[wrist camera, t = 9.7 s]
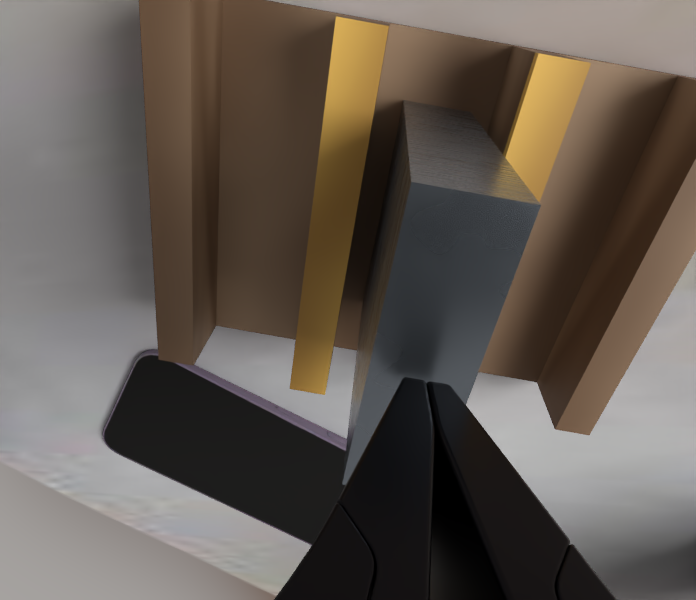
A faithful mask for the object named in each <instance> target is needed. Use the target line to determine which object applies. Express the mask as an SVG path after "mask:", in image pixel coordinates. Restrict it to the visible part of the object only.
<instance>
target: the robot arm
mask: <svg viewBox="0 0 696 600" xmlns="http://www.w3.org/2000/svg"><path fill="white" fill-rule="evenodd" d="M569 544H570V540H569V538H568V537H567V536H566V535H565V533H564V532H563V531H562V529H561V528H560V527H559V525H558V524H557V523H556V522H555V520H554V519H553V518H552V516H551V515H550V514H549V513H548V511H547V510H546V509H545V507H544V506H543V505H542V503H541V502H540V501H539V500H538V498H537V497H536V496H535V494H534V493H533V492H532V491H531V489H530V488H529V487H528V485H527V484H526V483H525V481H524V480H523V479H522V478H521V476H520V475H519V474H518V472H517V471H516V470H515V468H514V467H513V466H512V465H511V463H510V462H509V461H508V459H507V458H506V457H505V456H504V454H503V453H502V452H501V450H500V449H499V448H498V446H497V445H496V444H495V443H494V441H493V440H492V439H491V437H490V436H489V435H488V433H487V432H486V431H485V430H484V428H483V427H482V426H481V424H480V423H479V422H478V421H477V419H476V418H475V417H474V415H473V414H472V413H471V411H470V410H469V409H468V408H467V406H466V405H465V404H464V402H463V401H462V400H461V398H460V397H459V396H458V395H457V393H456V392H455V391H454V389H453V388H452V387H451V386H450V385H448V384H444V383H438V382H432V381H429V382H427V383H426V382H425V381H424V380H421V379H415V378H410V377H404V378H403V379H402V381H401V382H400V384H399V386H398V388H397V390H396V392H395V394H394V396H393V397H392V399H391V401H390V403H389V405H388V407H387V409H386V411H385V412H384V414H383V416H382V418H381V420H380V422H379V424H378V425H377V427H376V429H375V431H374V433H373V435H372V437H371V439H370V440H369V442H368V444H367V446H366V448H365V450H364V452H363V454H362V455H361V457H360V459H359V461H358V463H357V465H356V467H355V469H354V470H353V472H352V474H351V476H350V478H349V480H348V482H347V484H346V485H345V487H344V489H343V491H342V493H341V495H340V497H339V498H338V500H337V504H335V505H334V507H333V509H332V511H331V513H330V515H329V517H328V518H327V520H326V522H325V524H324V526H323V527H322V529H321V531H320V532H319V534H318V536H317V538H316V539H315V541H314V543H313V544H312V546H311V548H310V549H309V551H308V552H307V554H306V555H305V557H304V558H303V560H302V561H301V563H300V564H299V566H298V567H297V568H296V570H295V571H294V573H293V574H292V576H291V577H290V579H289V580H288V581H287V583H286V584H285V585H284V587H283V588H282V590H281V591H280V592H279V594H278V595H277V596H276V598H275V599H274V600H617V599H616V598H615V596H614V595H613V594H612V593H611V592H610V590H609V589H608V588H607V587H606V585H605V584H604V583H603V582H602V580H601V579H600V578H599V577H598V575H597V574H596V573H595V572H594V570H593V569H592V568H591V567H590V565H589V564H588V563H587V561H586V560H585V559H584V558H583V556H582V555H581V554H580V552H579V551H578V550H577V549H576V547H575V546H574V545H569Z"/></svg>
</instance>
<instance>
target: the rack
mask: <svg viewBox="0 0 696 600" xmlns="http://www.w3.org/2000/svg"><path fill="white" fill-rule="evenodd" d="M139 11H140V30H141V48H142V66H143V84H144V102H145V121H146V139H147V157H148V175H149V194H150V212H151V230H152V248H153V266H154V285H155V303H156V321H157V339H158V357H159V360H164V361H169V362H175V363H181V364H186V365H192V366H193V365H194V364H195V362H196V360H197V358H198V357H199V355H200V353H201V351H202V350H203V348H204V346H205V344H206V343H207V341H208V339H209V337H210V336H211V334H212V332H213V330H214V329H215V327H216V326H222V327H227V328H233V329H239V330H244V331H250V332H256V333H261V334H267V335H273V336H278V337H284V338H290V339H295V340H296V342H295V350H294V358H293V366H292V375H291V383H290V389H294V390H300V391H306V392H311V393H317V394H323V395H325V391H326V386H327V380H328V375H329V369H330V364H331V358H332V353H333V347H334V346H335V347H341V348H346V349H352V350H357V347H358V338H359V329H360V320H361V311H362V302H363V297H364V292H365V287H366V283H367V278H368V273H369V268H370V263H371V258H372V253H373V248H374V243H375V238H376V233H377V228H378V223H379V218H380V213H381V208H382V203H383V198H384V194H385V189H386V184H387V179H388V174H389V169H390V164H391V159H392V154H393V149H394V144H395V139H396V134H397V129H398V124H399V119H400V114H401V109H402V105H403V100H407V101H412V102H417V103H423V104H428V105H434V106H439V107H445V108H450V109H456V110H461V111H467V112H471V113H472V114H473V116H474V117H475V118H476V120H477V121H478V122H479V124H480V125H481V126H482V128H483V129H484V130H485V132H486V133H487V134H488V136H489V137H490V138H491V139H492V141H493V142H494V143H495V145H496V146H497V147H498V149H499V150H500V151H501V153H502V154H503V155H504V157H505V158H506V159H507V161H508V162H509V163H510V165H511V166H512V167H513V169H514V170H515V171H516V173H517V174H518V175H519V177H520V178H521V179H522V180H523V182H524V183H525V184H526V186H527V187H528V188H529V190H530V191H531V192H532V194H533V195H534V196H535V198H536V199H537V200H538V202H539V203H540V204H541V207H540V210H539V212H538V215H537V218H536V220H535V223H534V226H533V228H532V231H531V233H530V236H529V239H528V241H527V244H526V247H525V249H524V252H523V255H522V257H521V260H520V263H519V265H518V268H517V271H516V273H515V276H514V278H513V281H512V284H511V286H510V289H509V292H508V294H507V297H506V300H505V302H504V305H503V308H502V310H501V313H500V316H499V318H498V321H497V323H496V326H495V329H494V331H493V334H492V337H491V339H490V342H489V345H488V347H487V350H486V353H485V355H484V358H483V361H482V363H481V366H480V368H479V371H478V372H483V373H488V374H494V375H500V376H505V377H511V378H517V379H522V380H528V381H534V382H537V384H538V386H539V389H540V391H541V394H542V397H543V399H544V402H545V404H546V407H547V410H548V412H549V415H550V417H551V420H552V423H553V425H554V428H555V429H557V430H562V431H568V432H574V433H579V434H585V435H590V433H591V431H592V429H593V428H594V426H595V424H596V423H597V421H598V419H599V417H600V416H601V414H602V412H603V410H604V409H605V407H606V405H607V403H608V402H609V400H610V398H611V396H612V395H613V393H614V391H615V389H616V388H617V386H618V384H619V383H620V381H621V379H622V377H623V376H624V374H625V372H626V370H627V369H628V367H629V365H630V363H631V362H632V360H633V358H634V356H635V355H636V353H637V351H638V349H639V348H640V346H641V344H642V343H643V341H644V339H645V337H646V336H647V334H648V332H649V330H650V329H651V327H652V325H653V323H654V322H655V320H656V318H657V316H658V315H659V313H660V311H661V309H662V308H663V306H664V304H665V303H666V301H667V299H668V297H669V296H670V294H671V292H672V290H673V289H674V287H675V285H676V283H677V282H678V280H679V278H680V276H681V275H682V273H683V271H684V269H685V268H686V266H687V264H688V263H689V261H690V259H691V257H692V256H693V254H694V252H695V250H696V78H691V77H685V76H680V75H674V74H669V73H663V72H658V71H652V70H647V69H641V68H636V67H630V66H625V65H619V64H614V63H608V62H603V61H597V60H592V59H586V58H581V57H575V56H570V55H564V54H559V53H553V52H548V51H542V50H537V49H531V48H526V47H520V46H515V45H509V44H504V43H498V42H493V41H487V40H482V39H476V38H471V37H465V36H460V35H454V34H449V33H443V32H438V31H432V30H427V29H421V28H416V27H410V26H405V25H399V24H394V23H388V22H383V21H377V20H372V19H366V18H361V17H355V16H350V15H344V14H339V13H333V12H328V11H323V10H317V9H312V8H306V7H301V6H295V5H290V4H284V3H279V2H273V1H268V0H139Z"/></svg>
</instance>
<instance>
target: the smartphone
mask: <svg viewBox="0 0 696 600" xmlns="http://www.w3.org/2000/svg"><path fill="white" fill-rule="evenodd" d="M103 440H104V442H105V443H106V445H107V446H108V447H109V448H110V449H111V450H112V451H114V452H116V453H117V454H119V455H121V456H123V457H125V458H127V459H129V460H132V461H134V462H136V463H138V464H140V465H142V466H144V467H146V468H149V469H151V470H153V471H155V472H157V473H159V474H161V475H163V476H166V477H168V478H170V479H172V480H174V481H176V482H178V483H180V484H183V485H185V486H187V487H189V488H191V489H193V490H195V491H197V492H200V493H202V494H204V495H206V496H208V497H210V498H212V499H214V500H217V501H219V502H221V503H223V504H225V505H227V506H229V507H231V508H234V509H236V510H238V511H240V512H242V513H244V514H246V515H248V516H251V517H253V518H255V519H257V520H259V521H261V522H263V523H265V524H268V525H270V526H272V527H274V528H276V529H278V530H280V531H282V532H285V533H287V534H289V535H291V536H293V537H295V538H297V539H299V540H302V541H304V542H306V543H308V544H310V545H312V544H313V543H314V541H315V539H316V538H317V536H318V534H319V532H320V531H321V529H322V527H323V526H324V524H325V522H326V520H327V518H328V517H329V515H330V513H331V511H332V509H333V507H334V505H335V504H337V500H338V498H339V497H340V495H341V493H342V491H343V489H344V487H345V485H343V484H342V481H343V472H344V463H345V454H346V445H347V439H345V438H343V437H341V436H339V435H337V434H335V433H333V432H331V431H329V430H326V429H324V428H322V427H320V426H318V425H316V424H314V423H312V422H310V421H308V420H306V419H304V418H302V417H300V416H298V415H296V414H294V413H292V412H290V411H288V410H285V409H283V408H281V407H279V406H277V405H275V404H273V403H271V402H269V401H267V400H265V399H263V398H261V397H259V396H257V395H255V394H253V393H251V392H249V391H247V390H245V389H243V388H241V387H238V386H236V385H234V384H232V383H230V382H228V381H226V380H224V379H222V378H220V377H218V376H216V375H214V374H212V373H210V372H208V371H206V370H204V369H202V368H200V367H198V366H196V365H193V366H192V365H186V364H181V363H175V362H169V361H164V360H159V357H158V350H154V349H153V350H148V351H145V352H143V353H142V354H141V355H140V356H139V357H138V358H137V359H136V361H135V363H134V365H133V367H132V369H131V371H130V373H129V375H128V378H127V380H126V382H125V384H124V386H123V388H122V391H121V393H120V395H119V397H118V399H117V402H116V404H115V406H114V408H113V410H112V412H111V415H110V417H109V419H108V421H107V423H106V425H105V428H104V430H103Z"/></svg>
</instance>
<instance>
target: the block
mask: <svg viewBox="0 0 696 600" xmlns="http://www.w3.org/2000/svg"><path fill="white" fill-rule="evenodd" d="M540 207H541V204H540V203H539V202H538V200H537V199H536V198H535V196H534V195H533V194H532V192H531V191H530V190H529V188H528V187H527V186H526V184H525V183H524V182H523V180H522V179H521V178H520V177H519V175H518V174H517V173H516V171H515V170H514V169H513V167H512V166H511V165H510V163H509V162H508V161H507V159H506V158H505V157H504V155H503V154H502V153H501V151H500V150H499V149H498V147H497V146H496V145H495V143H494V142H493V141H492V139H491V138H490V137H489V136H488V134H487V133H486V132H485V130H484V129H483V128H482V126H481V125H480V124H479V122H478V121H477V120H476V118H475V117H474V116H473V114H472V113H471V112H467V111H461V110H456V109H450V108H445V107H439V106H434V105H428V104H423V103H417V102H412V101H407V100H403V105H402V109H401V114H400V119H399V124H398V129H397V134H396V139H395V144H394V149H393V154H392V159H391V164H390V169H389V174H388V179H387V184H386V189H385V194H384V198H383V203H382V208H381V213H380V218H379V223H378V228H377V233H376V238H375V243H374V248H373V253H372V258H371V263H370V268H369V273H368V278H367V283H366V287H365V292H364V297H363V302H362V311H361V320H360V329H359V338H358V347H357V356H356V365H355V374H354V383H353V392H352V401H351V410H350V419H349V428H348V437H347V445H346V454H345V463H344V472H343V481H342V484H343V485H346V484H347V482H348V480H349V478H350V476H351V474H352V472H353V470H354V469H355V467H356V465H357V463H358V461H359V459H360V457H361V455H362V454H363V452H364V450H365V448H366V446H367V444H368V442H369V440H370V439H371V437H372V435H373V433H374V431H375V429H376V427H377V425H378V424H379V422H380V420H381V418H382V416H383V414H384V412H385V411H386V409H387V407H388V405H389V403H390V401H391V399H392V397H393V396H394V394H395V392H396V390H397V388H398V386H399V384H400V382H401V381H402V379H403V378H404V377H410V378H415V379H421V380H424V381H425V382H426V383H427V382H429V381H432V382H438V383H444V384H448V385H450V386H451V387H452V388H453V389H454V391H455V392H456V393H457V395H458V396H459V397H460V398H461V400H462V401H463V402H464V404H465V405H466V403H467V400H468V398H469V395H470V392H471V390H472V387H473V384H474V382H475V379H476V376H477V374H478V371H479V368H480V366H481V363H482V361H483V358H484V355H485V353H486V350H487V347H488V345H489V342H490V339H491V337H492V334H493V331H494V329H495V326H496V323H497V321H498V318H499V316H500V313H501V310H502V308H503V305H504V302H505V300H506V297H507V294H508V292H509V289H510V286H511V284H512V281H513V278H514V276H515V273H516V271H517V268H518V265H519V263H520V260H521V257H522V255H523V252H524V249H525V247H526V244H527V241H528V239H529V236H530V233H531V231H532V228H533V226H534V223H535V220H536V218H537V215H538V212H539V210H540Z"/></svg>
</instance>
